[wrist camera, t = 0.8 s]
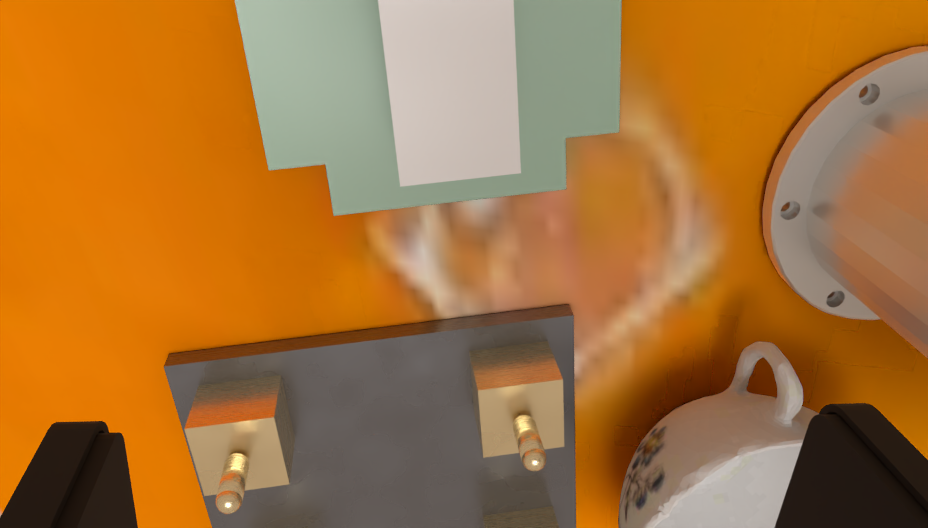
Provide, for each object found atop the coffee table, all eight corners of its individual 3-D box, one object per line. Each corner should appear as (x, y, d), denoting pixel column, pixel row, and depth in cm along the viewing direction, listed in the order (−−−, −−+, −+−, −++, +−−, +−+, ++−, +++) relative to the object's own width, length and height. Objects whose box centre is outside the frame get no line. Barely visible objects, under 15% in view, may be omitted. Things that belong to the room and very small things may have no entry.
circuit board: (615, -142, 27) (683, -148, 22) (611, 175, 33) (664, 237, 27) (218, -109, 26) (177, -106, 21) (281, 212, 32) (263, 285, 26)
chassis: (568, 304, 35) (611, 395, 29) (572, 554, 43) (607, 670, 36) (168, 353, 34) (125, 459, 28) (242, 603, 41) (221, 731, 35)
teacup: (788, 523, 44) (870, 649, 36) (571, 539, 42) (614, 673, 35) (854, 289, 37) (971, 386, 30) (600, 297, 35) (660, 402, 28)
